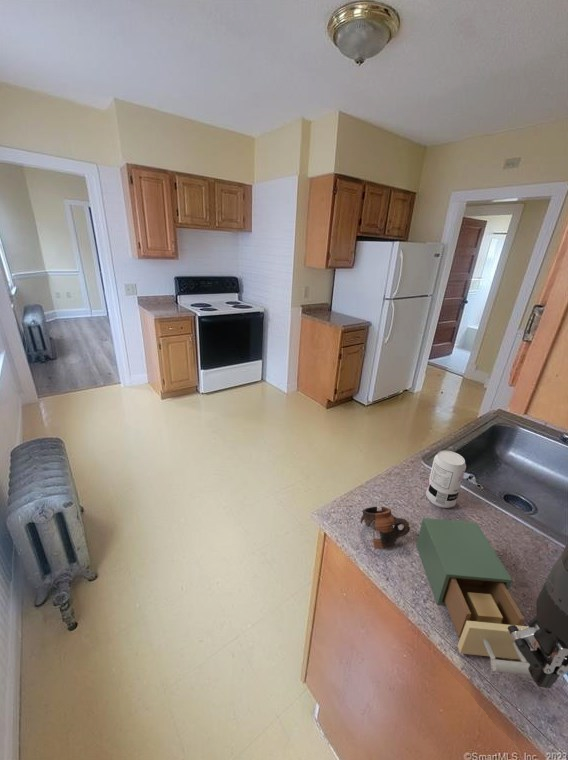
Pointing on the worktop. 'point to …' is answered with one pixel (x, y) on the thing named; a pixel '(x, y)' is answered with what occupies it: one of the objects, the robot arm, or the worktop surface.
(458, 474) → the supplement can
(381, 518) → the pottery mug
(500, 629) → the drawer
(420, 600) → the worktop surface
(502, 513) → the worktop surface
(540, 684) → the robot arm
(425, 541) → the cabinet
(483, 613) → the block
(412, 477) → the worktop surface
